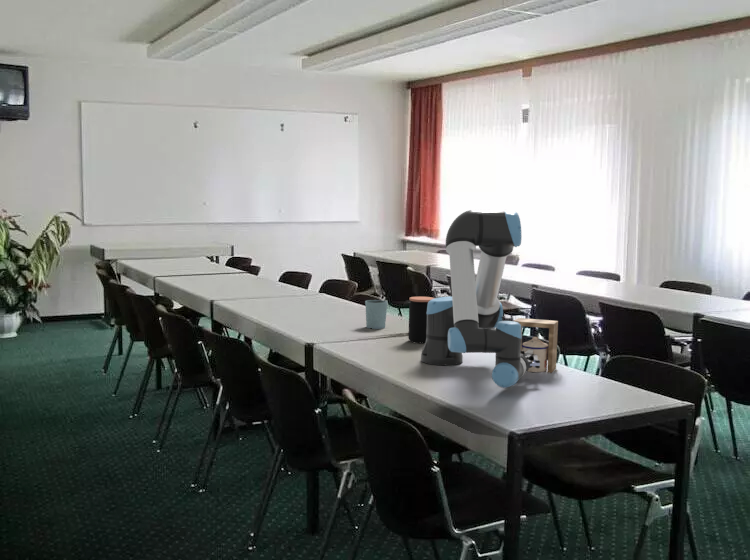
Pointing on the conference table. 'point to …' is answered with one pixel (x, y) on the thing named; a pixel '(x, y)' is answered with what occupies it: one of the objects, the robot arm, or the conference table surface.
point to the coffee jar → (418, 319)
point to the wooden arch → (552, 337)
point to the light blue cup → (376, 313)
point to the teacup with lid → (537, 353)
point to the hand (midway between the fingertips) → (530, 353)
